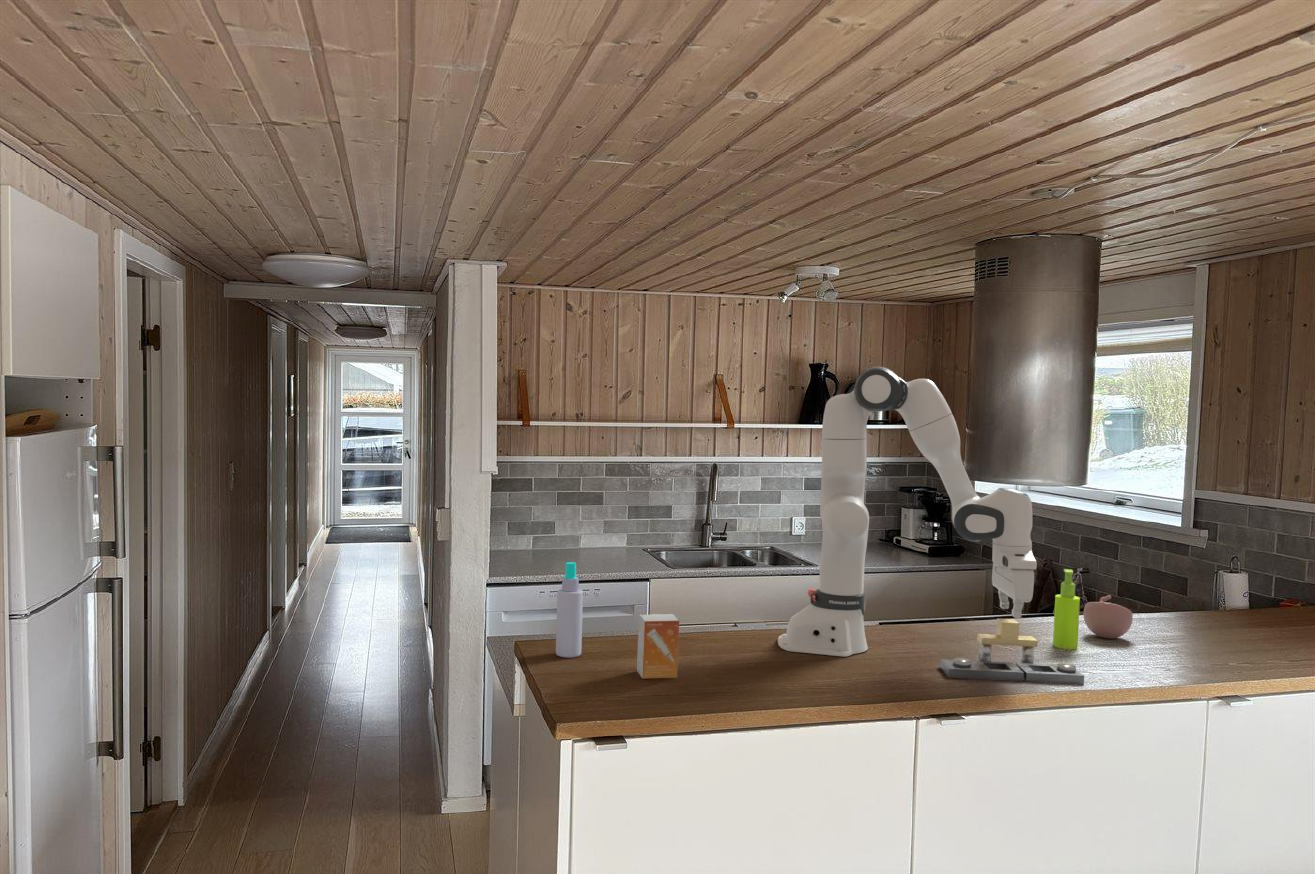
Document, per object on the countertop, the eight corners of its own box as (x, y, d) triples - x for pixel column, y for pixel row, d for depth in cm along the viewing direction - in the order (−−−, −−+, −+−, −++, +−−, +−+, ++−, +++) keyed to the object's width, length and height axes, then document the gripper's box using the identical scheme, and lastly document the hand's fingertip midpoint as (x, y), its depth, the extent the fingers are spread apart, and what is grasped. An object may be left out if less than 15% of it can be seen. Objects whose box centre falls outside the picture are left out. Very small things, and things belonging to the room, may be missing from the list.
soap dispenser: (1075, 643, 244) (1079, 568, 243) (1078, 650, 238) (1082, 573, 237) (1051, 641, 246) (1055, 566, 245) (1053, 647, 239) (1057, 571, 239)
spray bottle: (577, 659, 216) (579, 566, 215) (552, 657, 217) (554, 564, 217) (584, 652, 222) (586, 561, 221) (560, 650, 223) (562, 560, 222)
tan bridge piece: (980, 664, 222) (982, 621, 221) (976, 659, 226) (978, 617, 225) (1036, 667, 221) (1038, 623, 220) (1030, 662, 225) (1032, 619, 224)
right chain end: (1026, 681, 209) (1026, 668, 209) (1015, 670, 217) (1015, 658, 217) (1083, 684, 208) (1084, 671, 208) (1070, 673, 216) (1071, 661, 216)
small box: (642, 679, 202) (644, 620, 202) (636, 671, 209) (638, 613, 208) (678, 678, 204) (679, 619, 204) (671, 669, 210) (673, 613, 210)
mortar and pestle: (1133, 636, 254) (1135, 595, 253) (1128, 646, 243) (1131, 603, 243) (1085, 629, 260) (1087, 589, 259) (1079, 638, 250) (1081, 596, 249)
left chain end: (948, 677, 211) (948, 664, 210) (940, 667, 219) (940, 654, 218) (1023, 681, 209) (1024, 668, 209) (1012, 670, 217) (1013, 658, 217)
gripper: (986, 548, 233) (984, 602, 233) (1011, 562, 212) (1009, 622, 213) (1011, 549, 232) (1010, 603, 233) (1039, 563, 212) (1037, 623, 212)
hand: (1010, 612), depth 223 cm, fingers open, 8 cm apart
